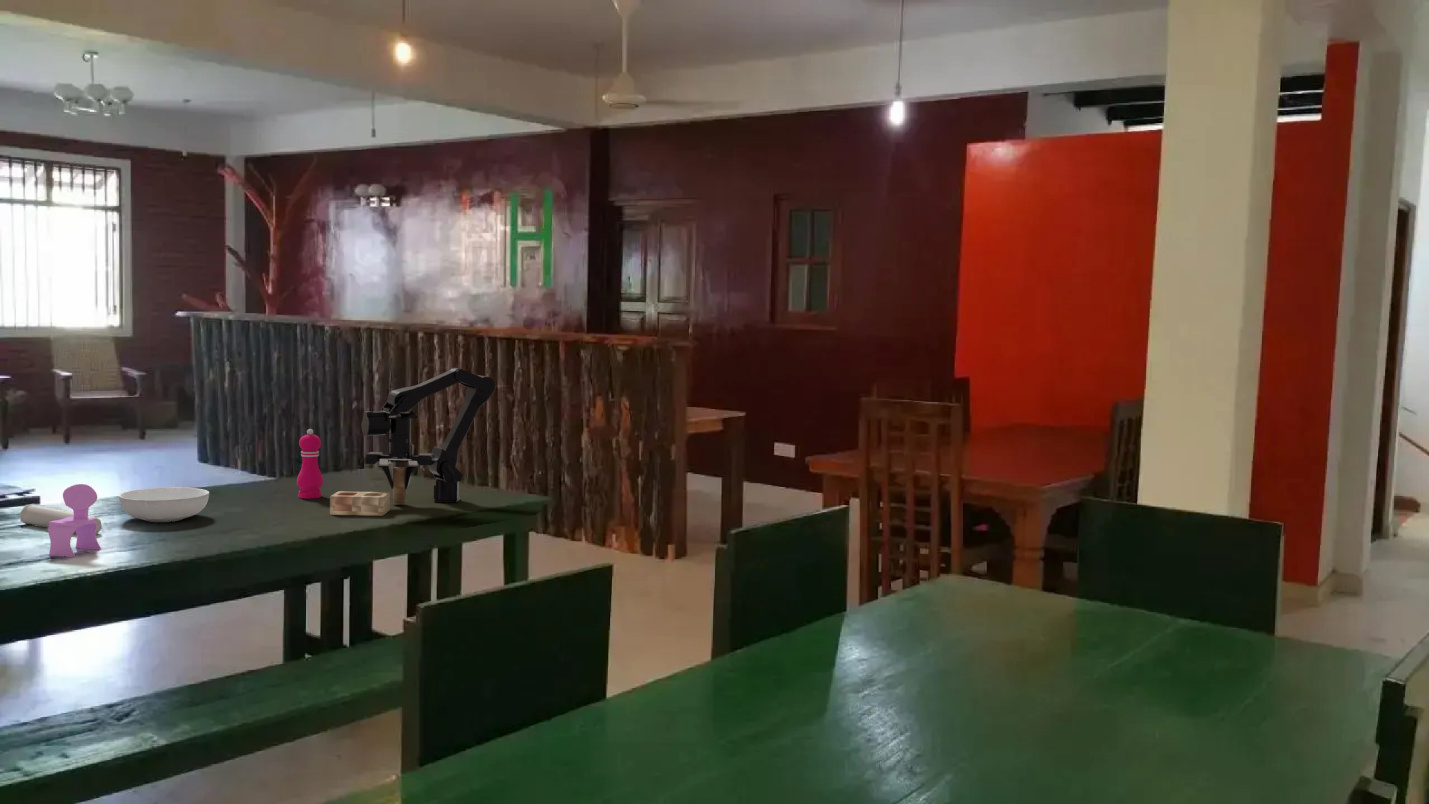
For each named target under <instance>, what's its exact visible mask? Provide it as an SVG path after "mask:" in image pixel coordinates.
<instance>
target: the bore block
mask: <svg viewBox="0 0 1429 804" xmlns="http://www.w3.org/2000/svg"><path fill="white" fill-rule="evenodd" d="M390 498H391V493H390V491H389V492H385V491H383V492H382V491H349V490H348V491H345V490H344V491H343V490H339V491H337V492H334V493H333V494H332V495H330V497H329V515H334V516H335V515H337V516H339V515H340V516H381V517H382V516H384V515H385V514H387V513H388V512H389V511H391V507H390V506H391V504H390V502H391V499H390Z"/></svg>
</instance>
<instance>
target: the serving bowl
mask: <svg viewBox="0 0 1429 804" xmlns="http://www.w3.org/2000/svg"><path fill="white" fill-rule="evenodd" d="M209 498H210V491H209V490H206V489H201V488H195V487H173V486H172V487H170V486H169V487H151V488H142V489H141V488H140V489H133V490H128V491H124V492H122V493H119V495H118V501H119V504H120V507H121V508H122V510H123V512H125V514H127V515H128V516H130V517H131V518H135V519H138V520H143V521H146V522H150V523H169V522H171V521H172V522H177V521H183V519H187V518H189V517H193V516H194V515H197V514H199V513H200V512H202V510H204V508H205V507H206V506H207V504H208V501H209Z"/></svg>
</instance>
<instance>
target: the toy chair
mask: <svg viewBox="0 0 1429 804" xmlns="http://www.w3.org/2000/svg"><path fill="white" fill-rule="evenodd" d="M62 498H63V501H64V505H65V506H66V507H68V508H69V509H72V512H74V517H67V518H64V519H61V520H56V521H51V522H49V527H48V528H47V532H48V536H49V540H50V542H49V543H50V548H49V552H48V553H49V554H48V556H53V557H64V556H66V557H67V558H76V554H75V553H74V552H73V550H72V545H71V540H72V536H73V535H74V534H76V542H75V543H76V544H75V549H89V550H100V551H101V550H102V547H101V546H100V543H99V542H98V540H97V534H96V529H97V523H96V518H88V515H89V510H90V509H89V508H90V507H92V505H94V504H95V503H96V502H97V500H98V495H97V491H95V489H94V488H93V487H92V486H90V485H89V484H84V483H77V484H74V485H71V486H68V487H66V488H65V489H64V490H63V493H62ZM74 531H76V533H74Z"/></svg>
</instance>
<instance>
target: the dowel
mask: <svg viewBox="0 0 1429 804" xmlns="http://www.w3.org/2000/svg"><path fill="white" fill-rule="evenodd" d="M406 468H407V467H406V466H405V467H403V466H398V467H397V466H396V467H393V489H392V504H396V505H403V504H406V503H407V489H406V488H405V481H406Z"/></svg>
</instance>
